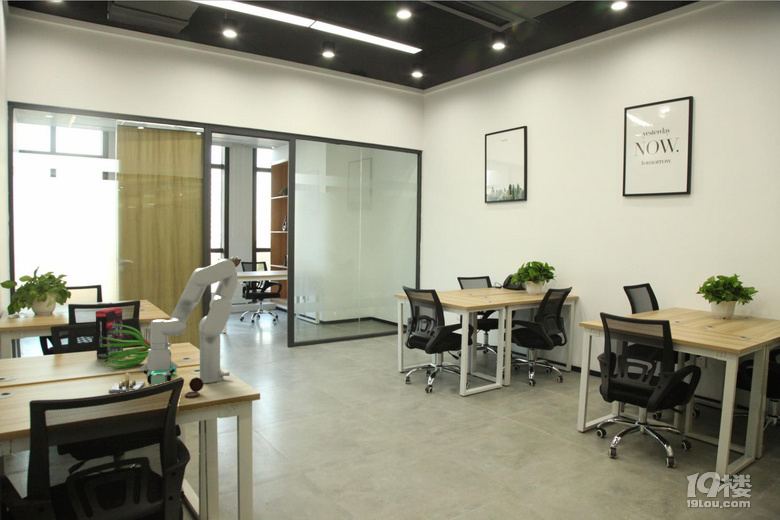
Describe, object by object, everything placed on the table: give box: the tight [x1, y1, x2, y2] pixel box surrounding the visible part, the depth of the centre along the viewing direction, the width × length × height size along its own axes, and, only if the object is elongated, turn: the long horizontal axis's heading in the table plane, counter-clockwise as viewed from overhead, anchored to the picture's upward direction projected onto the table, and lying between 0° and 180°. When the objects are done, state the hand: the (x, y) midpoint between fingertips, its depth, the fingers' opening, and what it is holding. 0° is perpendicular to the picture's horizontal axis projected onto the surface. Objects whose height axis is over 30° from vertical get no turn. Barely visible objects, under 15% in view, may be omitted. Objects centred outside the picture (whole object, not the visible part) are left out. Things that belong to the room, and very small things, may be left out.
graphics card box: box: [95, 307, 124, 360], centre depth 294 cm, size 17×7×27 cm, turn 179°
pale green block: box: [150, 373, 167, 387], centre depth 237 cm, size 6×6×5 cm
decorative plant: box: [100, 324, 151, 370], centre depth 271 cm, size 26×25×30 cm
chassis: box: [108, 372, 146, 394], centre depth 231 cm, size 12×12×7 cm
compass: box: [184, 376, 204, 399], centre depth 222 cm, size 8×8×7 cm
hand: (159, 383), depth 237 cm, fingers open, 7 cm apart
